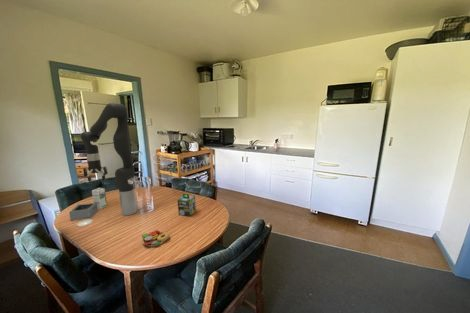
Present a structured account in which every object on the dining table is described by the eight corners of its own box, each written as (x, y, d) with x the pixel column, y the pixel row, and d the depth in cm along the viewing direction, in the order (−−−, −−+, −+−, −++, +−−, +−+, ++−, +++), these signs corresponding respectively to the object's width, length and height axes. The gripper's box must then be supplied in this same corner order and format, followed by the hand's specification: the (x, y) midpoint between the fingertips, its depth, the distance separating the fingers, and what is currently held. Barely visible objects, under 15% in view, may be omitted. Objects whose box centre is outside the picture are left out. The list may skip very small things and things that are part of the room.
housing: (97, 210, 140) (96, 202, 139) (90, 218, 130) (89, 209, 128) (79, 212, 137) (77, 204, 136) (70, 220, 127) (69, 211, 125)
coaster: (94, 219, 128) (94, 218, 128) (89, 225, 121) (89, 224, 121) (80, 220, 126) (80, 220, 126) (74, 227, 119) (74, 226, 119)
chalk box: (196, 210, 139) (195, 191, 136) (190, 216, 130) (188, 196, 127) (184, 209, 142) (183, 190, 139) (178, 215, 133) (176, 195, 130)
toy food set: (172, 239, 106) (172, 234, 106) (148, 252, 97) (148, 246, 96) (160, 230, 115) (160, 225, 114) (137, 241, 105) (137, 235, 105)
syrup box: (101, 209, 142) (98, 190, 139) (94, 208, 143) (91, 190, 140) (107, 205, 148) (104, 188, 145) (101, 205, 149) (98, 187, 146)
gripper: (106, 157, 143) (109, 178, 147) (84, 158, 140) (88, 180, 143) (103, 159, 136) (106, 181, 140) (79, 161, 133) (83, 183, 136)
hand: (96, 180), depth 141 cm, fingers open, 8 cm apart
